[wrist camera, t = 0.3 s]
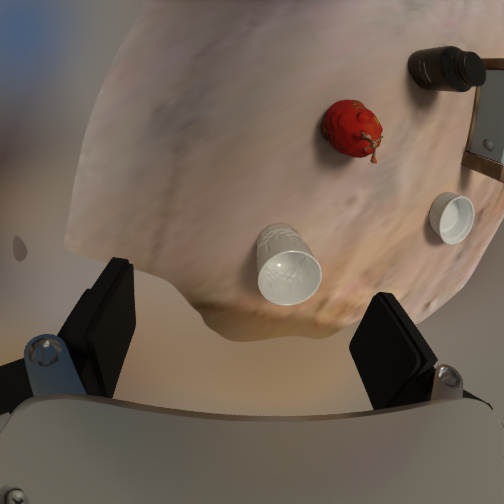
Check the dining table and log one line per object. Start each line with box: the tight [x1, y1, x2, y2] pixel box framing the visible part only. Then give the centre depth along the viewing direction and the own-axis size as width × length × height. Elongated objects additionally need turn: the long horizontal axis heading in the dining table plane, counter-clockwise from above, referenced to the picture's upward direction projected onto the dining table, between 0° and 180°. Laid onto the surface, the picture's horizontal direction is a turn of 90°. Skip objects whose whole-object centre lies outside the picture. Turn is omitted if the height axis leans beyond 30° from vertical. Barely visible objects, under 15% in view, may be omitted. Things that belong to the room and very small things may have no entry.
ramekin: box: [429, 192, 474, 245], centre depth 41 cm, size 9×9×4 cm
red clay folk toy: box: [321, 100, 383, 163], centre depth 29 cm, size 8×7×15 cm
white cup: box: [256, 224, 322, 306], centre depth 39 cm, size 8×8×10 cm
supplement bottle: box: [409, 46, 486, 92], centre depth 26 cm, size 7×7×12 cm
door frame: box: [461, 58, 504, 183], centre depth 28 cm, size 23×3×13 cm, turn 170°
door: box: [470, 70, 504, 165], centre depth 29 cm, size 17×3×8 cm, turn 170°
